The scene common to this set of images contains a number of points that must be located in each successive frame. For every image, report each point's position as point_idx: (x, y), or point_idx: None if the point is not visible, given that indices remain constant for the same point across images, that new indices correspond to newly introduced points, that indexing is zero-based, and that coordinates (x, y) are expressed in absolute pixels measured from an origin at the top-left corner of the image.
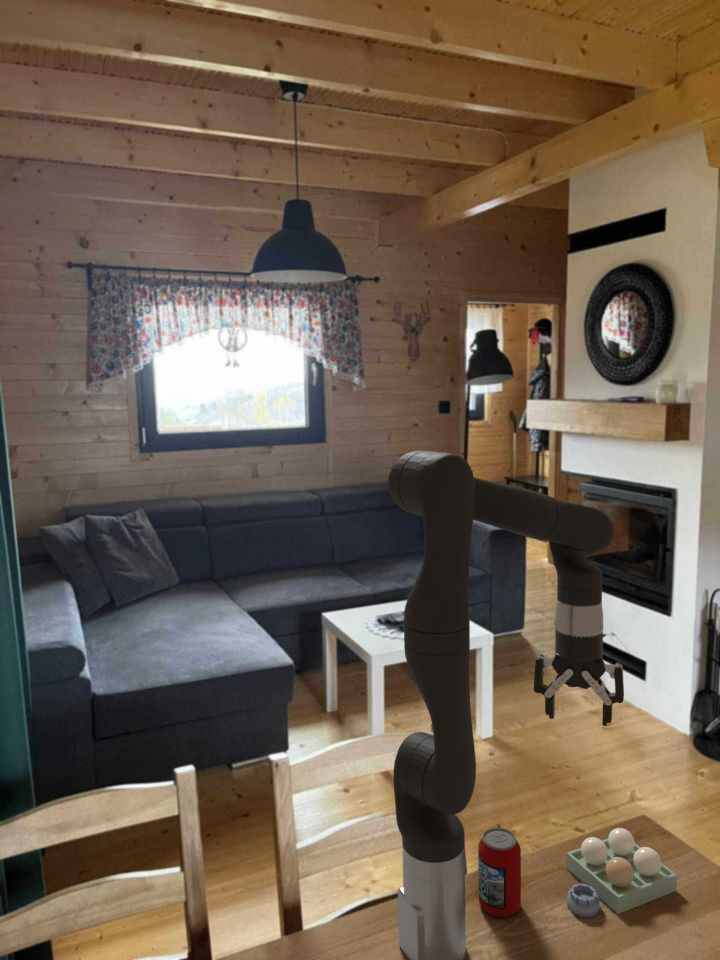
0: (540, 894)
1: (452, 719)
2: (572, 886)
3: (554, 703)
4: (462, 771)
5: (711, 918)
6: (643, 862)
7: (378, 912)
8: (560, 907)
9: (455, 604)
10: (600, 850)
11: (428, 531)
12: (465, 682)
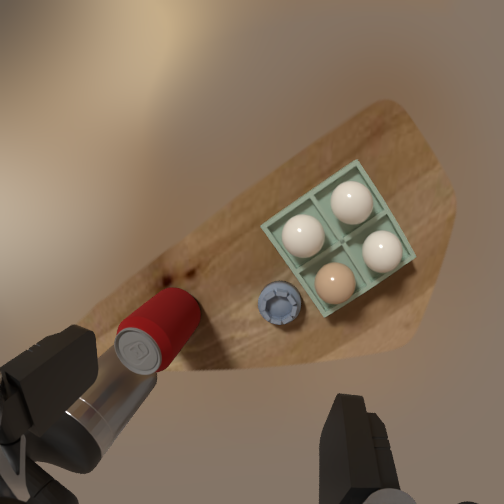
0: (226, 283)
1: None
2: (264, 297)
3: (56, 365)
4: None
5: (430, 296)
6: (374, 270)
7: (76, 324)
8: (250, 304)
9: None
10: (311, 253)
11: None
12: None
